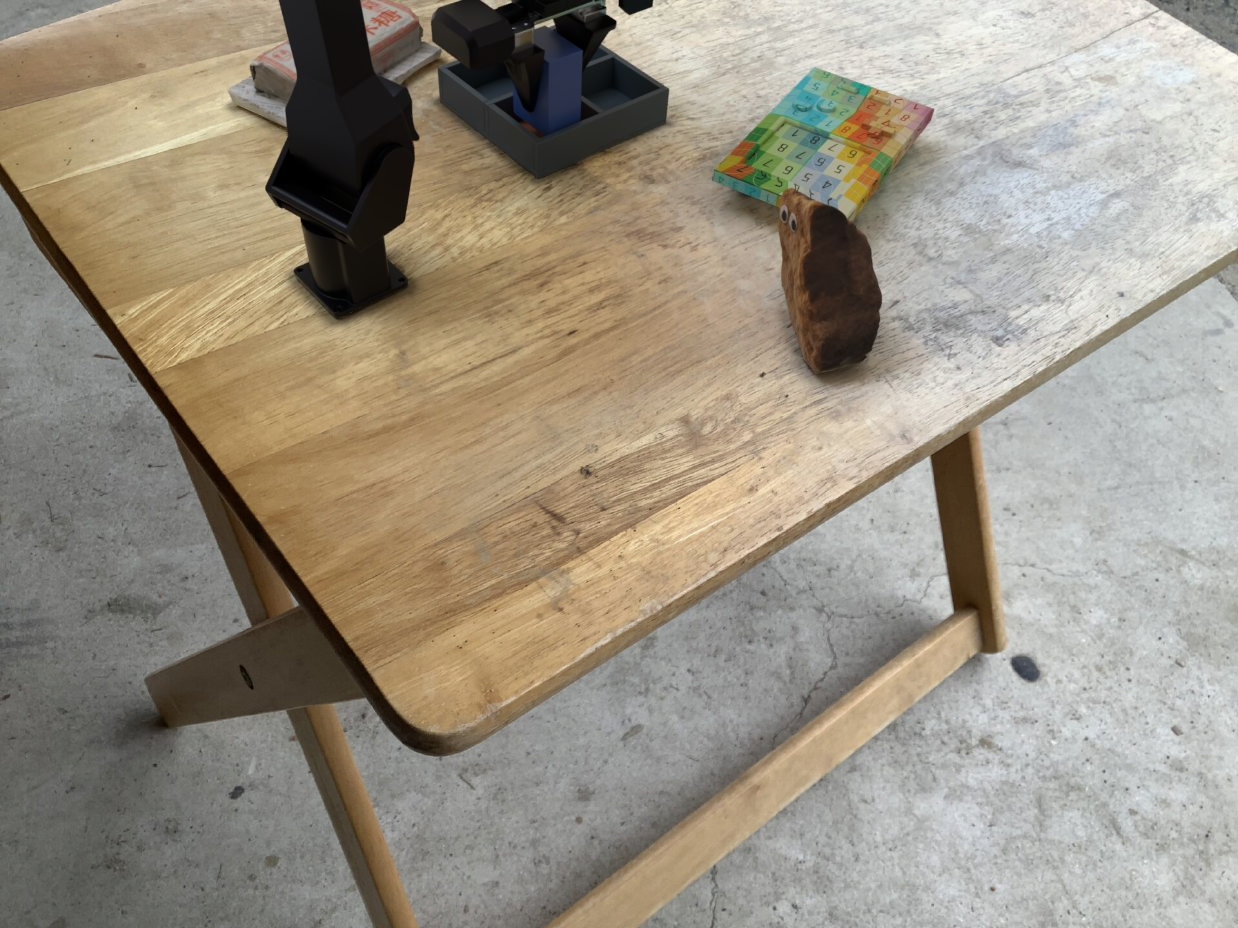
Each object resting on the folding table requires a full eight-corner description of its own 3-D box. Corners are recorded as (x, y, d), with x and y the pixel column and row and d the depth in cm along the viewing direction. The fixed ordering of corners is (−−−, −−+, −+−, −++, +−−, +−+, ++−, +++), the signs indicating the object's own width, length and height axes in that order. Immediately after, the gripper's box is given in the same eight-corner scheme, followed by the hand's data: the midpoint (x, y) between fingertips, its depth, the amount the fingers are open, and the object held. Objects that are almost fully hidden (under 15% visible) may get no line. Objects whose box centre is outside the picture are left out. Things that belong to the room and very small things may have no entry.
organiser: (666, 123, 100) (669, 88, 97) (538, 179, 93) (538, 143, 91) (565, 55, 107) (566, 20, 104) (439, 102, 100) (437, 67, 98)
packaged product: (358, -21, 105) (439, 12, 101) (364, 28, 108) (443, 60, 105) (217, 55, 94) (303, 94, 91) (229, 106, 98) (312, 144, 95)
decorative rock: (756, 278, 86) (779, 161, 78) (829, 272, 87) (859, 156, 79) (800, 385, 79) (830, 268, 71) (879, 377, 80) (918, 261, 72)
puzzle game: (937, 99, 96) (847, 211, 85) (923, 145, 100) (835, 259, 88) (817, 58, 100) (715, 160, 88) (807, 104, 103) (708, 208, 92)
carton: (580, 126, 94) (582, 50, 89) (548, 139, 93) (549, 63, 88) (544, 100, 97) (545, 25, 92) (513, 113, 95) (511, 37, 90)
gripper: (576, -146, 90) (571, 33, 102) (382, -94, 81) (402, 95, 93) (666, -98, 85) (650, 85, 97) (468, -36, 76) (478, 156, 88)
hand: (546, 103), depth 94 cm, fingers closed on carton, 3 cm apart
